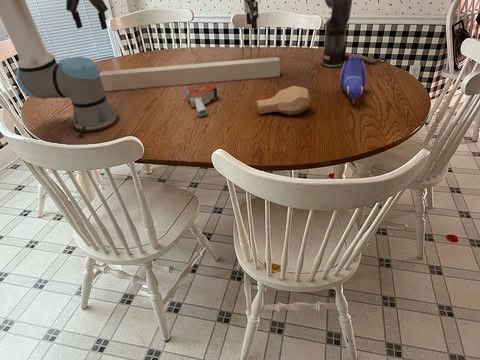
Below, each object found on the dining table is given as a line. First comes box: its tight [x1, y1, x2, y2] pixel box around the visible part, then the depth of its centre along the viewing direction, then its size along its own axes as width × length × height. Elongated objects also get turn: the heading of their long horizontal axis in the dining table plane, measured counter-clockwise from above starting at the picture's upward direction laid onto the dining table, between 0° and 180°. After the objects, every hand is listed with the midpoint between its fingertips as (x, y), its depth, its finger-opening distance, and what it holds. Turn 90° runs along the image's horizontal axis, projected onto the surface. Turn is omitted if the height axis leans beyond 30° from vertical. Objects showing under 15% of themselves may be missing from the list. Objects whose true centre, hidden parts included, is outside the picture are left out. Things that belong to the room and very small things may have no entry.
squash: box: [255, 85, 312, 116], centre depth 130 cm, size 11×20×9 cm, turn 92°
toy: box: [339, 55, 367, 105], centre depth 136 cm, size 10×17×25 cm
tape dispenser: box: [183, 82, 218, 117], centre depth 140 cm, size 18×5×20 cm
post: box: [99, 56, 281, 92], centre depth 160 cm, size 80×5×7 cm, turn 95°
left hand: (92, 28), depth 157 cm, fingers open, 13 cm apart
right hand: (251, 26), depth 150 cm, fingers open, 8 cm apart
